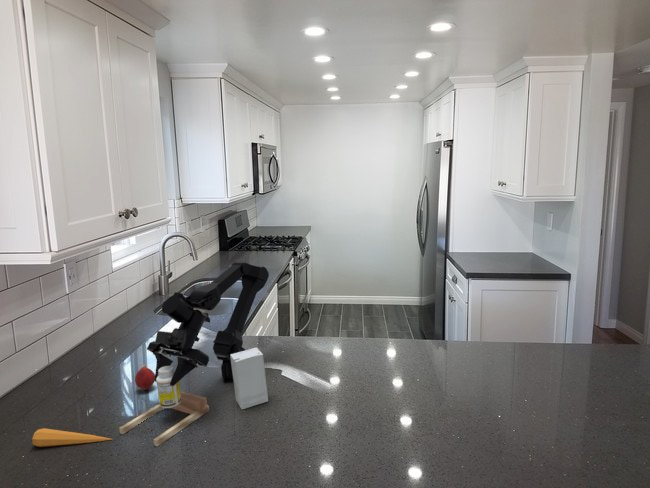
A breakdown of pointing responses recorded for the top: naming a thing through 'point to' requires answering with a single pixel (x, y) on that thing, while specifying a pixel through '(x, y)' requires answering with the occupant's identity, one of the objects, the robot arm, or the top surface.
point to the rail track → (188, 405)
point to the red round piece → (144, 378)
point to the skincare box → (249, 378)
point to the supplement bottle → (167, 388)
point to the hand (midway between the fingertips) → (163, 383)
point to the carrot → (62, 438)
